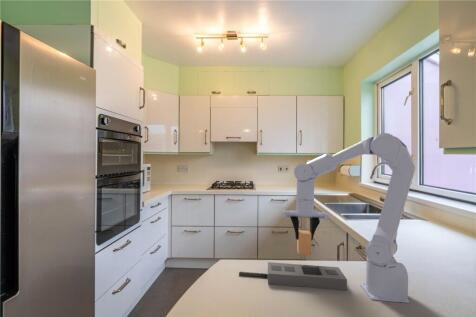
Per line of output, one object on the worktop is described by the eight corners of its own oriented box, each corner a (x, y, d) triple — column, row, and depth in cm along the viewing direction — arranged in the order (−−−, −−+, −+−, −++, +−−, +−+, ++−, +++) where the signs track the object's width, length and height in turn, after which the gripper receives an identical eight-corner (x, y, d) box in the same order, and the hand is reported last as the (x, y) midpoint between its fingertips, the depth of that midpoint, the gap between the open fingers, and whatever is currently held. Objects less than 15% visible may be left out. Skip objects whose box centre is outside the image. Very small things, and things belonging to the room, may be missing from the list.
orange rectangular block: (308, 251, 85) (309, 230, 85) (311, 255, 81) (311, 234, 81) (297, 250, 85) (297, 230, 86) (298, 254, 81) (299, 233, 82)
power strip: (338, 276, 77) (338, 266, 77) (346, 290, 69) (347, 279, 69) (240, 269, 81) (240, 259, 81) (237, 281, 73) (237, 270, 73)
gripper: (324, 198, 87) (323, 236, 87) (282, 196, 88) (281, 234, 88) (329, 201, 80) (328, 243, 80) (284, 199, 81) (282, 240, 81)
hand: (304, 239), depth 84 cm, fingers closed on orange rectangular block, 4 cm apart
